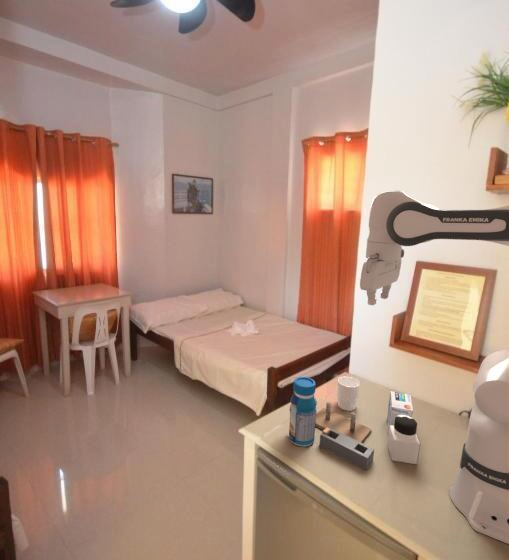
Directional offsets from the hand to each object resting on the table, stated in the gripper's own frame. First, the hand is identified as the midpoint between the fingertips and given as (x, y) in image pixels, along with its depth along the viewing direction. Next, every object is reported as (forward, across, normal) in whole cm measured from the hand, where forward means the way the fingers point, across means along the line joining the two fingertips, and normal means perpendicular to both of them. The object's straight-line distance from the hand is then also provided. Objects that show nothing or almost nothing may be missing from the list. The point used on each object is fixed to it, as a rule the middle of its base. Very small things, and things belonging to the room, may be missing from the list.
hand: (378, 301), depth 93 cm
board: (+47, +4, +10) cm, 48 cm away
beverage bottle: (+47, -9, +17) cm, 51 cm away
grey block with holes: (+47, -6, +3) cm, 48 cm away
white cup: (+47, +18, +14) cm, 53 cm away
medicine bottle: (+47, +5, -10) cm, 49 cm away
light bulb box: (+47, +17, -5) cm, 51 cm away
